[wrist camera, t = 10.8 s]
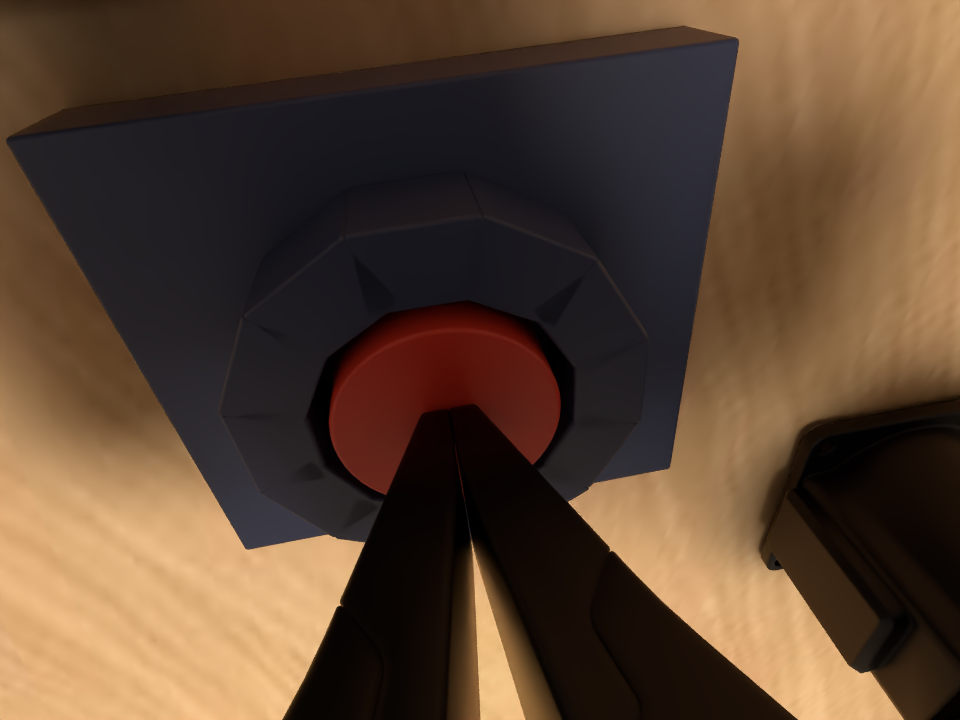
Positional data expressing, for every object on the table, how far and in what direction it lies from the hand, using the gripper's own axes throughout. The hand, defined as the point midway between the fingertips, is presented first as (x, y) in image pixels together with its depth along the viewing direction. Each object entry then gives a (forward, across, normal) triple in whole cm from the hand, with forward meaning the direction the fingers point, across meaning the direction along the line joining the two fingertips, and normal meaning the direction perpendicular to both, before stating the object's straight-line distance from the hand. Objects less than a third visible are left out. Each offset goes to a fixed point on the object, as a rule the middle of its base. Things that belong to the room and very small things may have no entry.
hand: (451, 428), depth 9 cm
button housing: (+4, 0, 0) cm, 4 cm away
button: (+2, 0, 0) cm, 2 cm away
